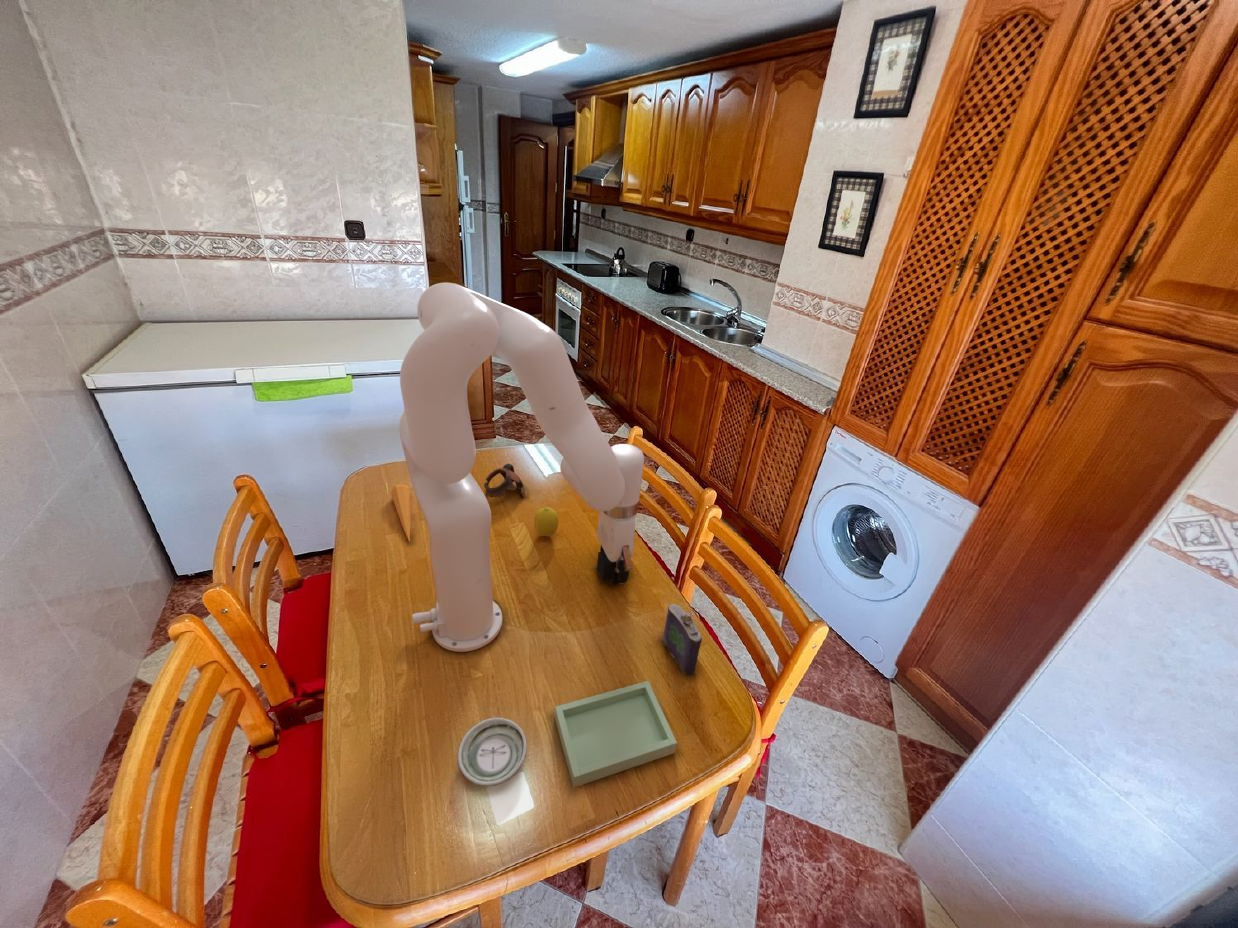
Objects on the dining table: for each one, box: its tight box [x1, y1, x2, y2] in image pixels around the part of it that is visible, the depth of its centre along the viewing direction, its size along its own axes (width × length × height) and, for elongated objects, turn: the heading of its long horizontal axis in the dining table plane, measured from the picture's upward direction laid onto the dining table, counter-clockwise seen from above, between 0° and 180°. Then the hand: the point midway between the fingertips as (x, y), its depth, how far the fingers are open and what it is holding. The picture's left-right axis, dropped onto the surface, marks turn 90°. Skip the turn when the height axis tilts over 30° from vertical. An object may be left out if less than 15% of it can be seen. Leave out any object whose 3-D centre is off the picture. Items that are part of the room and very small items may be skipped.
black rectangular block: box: [596, 551, 630, 582], centre depth 107 cm, size 6×4×5 cm, turn 110°
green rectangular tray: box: [554, 680, 678, 788], centre depth 76 cm, size 16×11×3 cm
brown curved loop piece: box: [483, 463, 526, 498], centre depth 130 cm, size 12×10×8 cm
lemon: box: [533, 506, 559, 537], centre depth 115 cm, size 6×6×8 cm
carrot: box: [390, 483, 412, 543], centre depth 117 cm, size 20×4×4 cm, turn 26°
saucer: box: [457, 717, 528, 787], centre depth 72 cm, size 10×10×2 cm
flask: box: [661, 603, 703, 677], centre depth 88 cm, size 9×3×11 cm, turn 26°
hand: (612, 569), depth 108 cm, fingers open, 7 cm apart
